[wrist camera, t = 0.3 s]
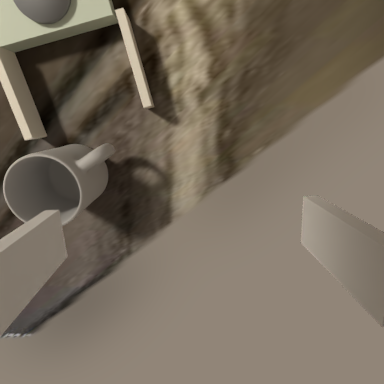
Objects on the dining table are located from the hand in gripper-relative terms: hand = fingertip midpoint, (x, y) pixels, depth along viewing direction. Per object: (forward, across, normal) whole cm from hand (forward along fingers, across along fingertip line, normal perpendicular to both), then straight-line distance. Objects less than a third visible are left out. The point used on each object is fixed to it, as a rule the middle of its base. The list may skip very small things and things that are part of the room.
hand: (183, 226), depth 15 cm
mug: (+26, -14, 0) cm, 30 cm away
